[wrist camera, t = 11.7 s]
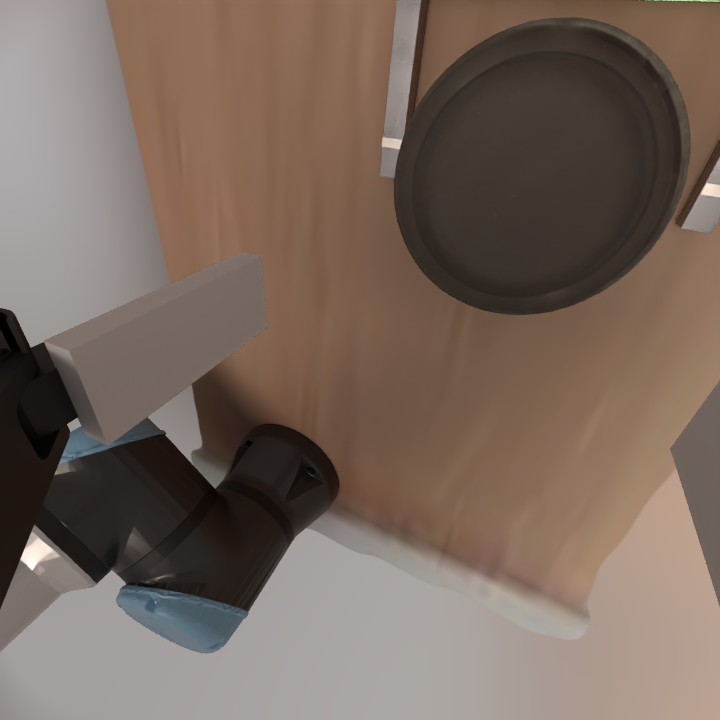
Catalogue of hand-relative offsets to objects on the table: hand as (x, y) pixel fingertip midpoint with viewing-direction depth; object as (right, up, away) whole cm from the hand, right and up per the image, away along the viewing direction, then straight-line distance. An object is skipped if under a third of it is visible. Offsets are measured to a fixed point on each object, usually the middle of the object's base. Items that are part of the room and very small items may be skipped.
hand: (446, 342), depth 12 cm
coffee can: (+9, +13, +14) cm, 21 cm away
